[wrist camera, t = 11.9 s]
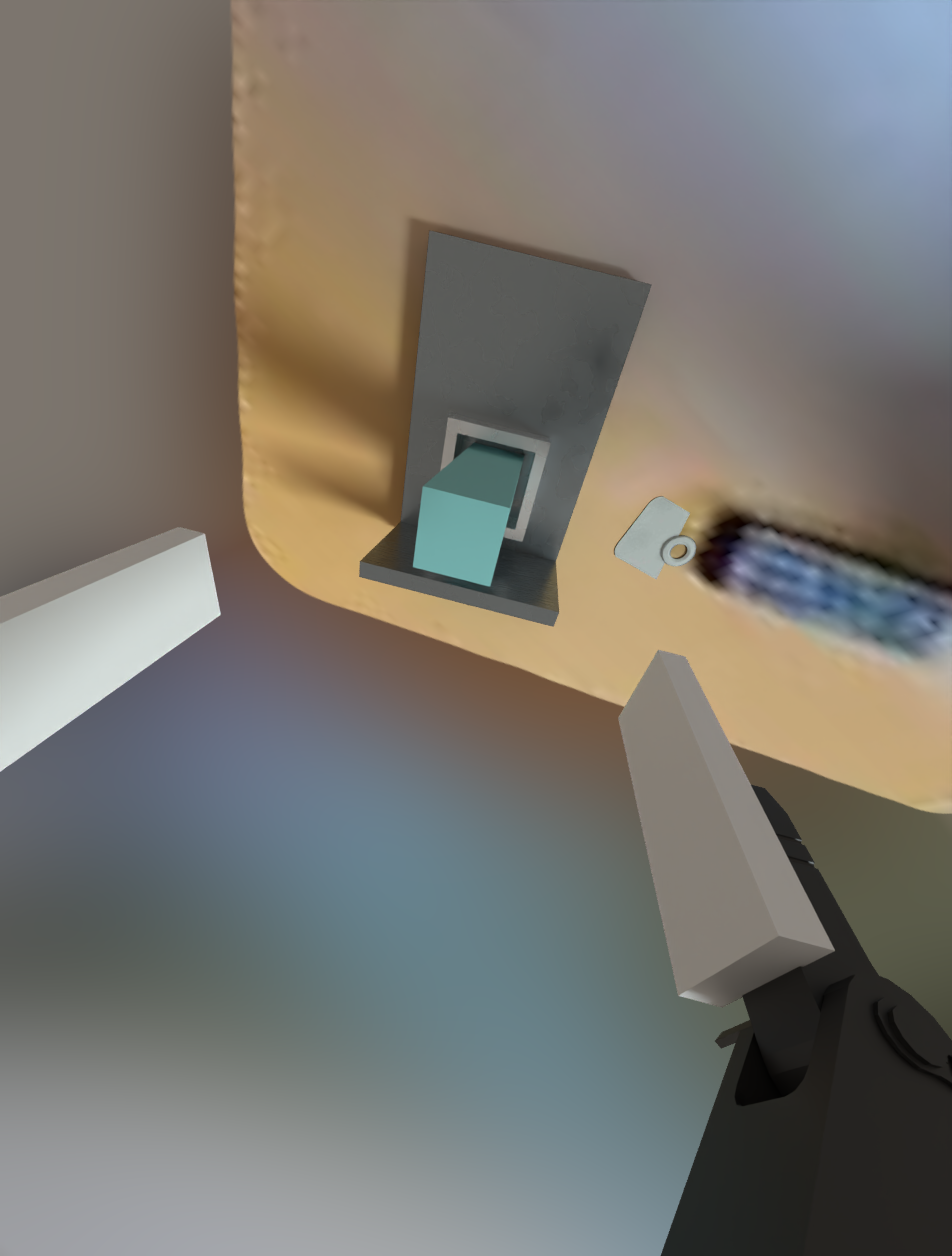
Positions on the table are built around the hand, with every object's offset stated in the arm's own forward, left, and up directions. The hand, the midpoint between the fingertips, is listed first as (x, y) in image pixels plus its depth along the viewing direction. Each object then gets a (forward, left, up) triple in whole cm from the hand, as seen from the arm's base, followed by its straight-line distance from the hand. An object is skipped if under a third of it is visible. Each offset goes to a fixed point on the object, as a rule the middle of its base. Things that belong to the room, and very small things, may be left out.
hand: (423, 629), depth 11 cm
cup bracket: (+1, -3, -25) cm, 25 cm away
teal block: (0, 0, -23) cm, 23 cm away
